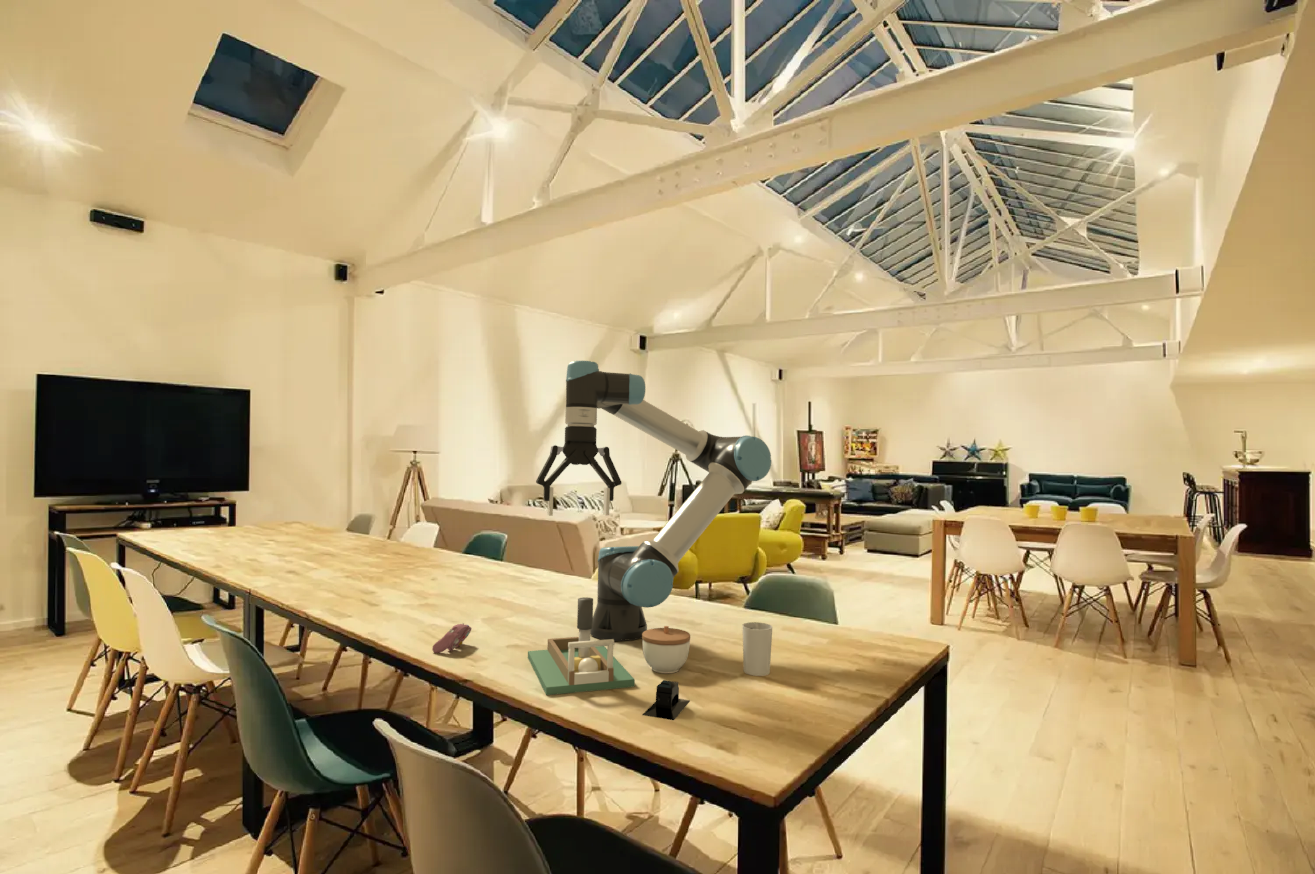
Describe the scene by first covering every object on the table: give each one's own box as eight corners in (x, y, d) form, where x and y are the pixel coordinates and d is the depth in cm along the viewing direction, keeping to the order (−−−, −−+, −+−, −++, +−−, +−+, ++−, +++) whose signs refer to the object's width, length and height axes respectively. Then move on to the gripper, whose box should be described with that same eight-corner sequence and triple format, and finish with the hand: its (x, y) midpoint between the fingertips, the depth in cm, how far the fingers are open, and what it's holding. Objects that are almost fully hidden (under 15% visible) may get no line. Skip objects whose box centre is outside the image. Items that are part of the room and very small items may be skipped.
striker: (596, 667, 139) (598, 596, 140) (600, 672, 136) (602, 599, 137) (567, 669, 137) (569, 598, 138) (570, 674, 134) (572, 601, 135)
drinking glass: (753, 678, 140) (753, 631, 140) (735, 668, 146) (736, 623, 146) (778, 674, 143) (778, 628, 144) (759, 665, 149) (760, 621, 149)
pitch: (603, 651, 157) (604, 611, 157) (634, 686, 133) (635, 638, 133) (527, 657, 151) (529, 615, 151) (546, 695, 127) (547, 645, 128)
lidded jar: (695, 665, 148) (696, 623, 149) (681, 679, 138) (682, 634, 138) (650, 659, 152) (651, 618, 152) (634, 673, 142) (635, 629, 142)
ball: (600, 673, 131) (596, 679, 134) (598, 653, 134) (594, 660, 137) (581, 675, 130) (577, 681, 133) (579, 655, 132) (575, 661, 135)
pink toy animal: (445, 661, 152) (458, 635, 151) (429, 651, 153) (442, 625, 152) (465, 649, 161) (477, 624, 161) (450, 639, 162) (462, 615, 162)
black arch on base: (660, 695, 130) (660, 671, 130) (697, 701, 127) (698, 676, 127) (635, 720, 117) (636, 692, 118) (676, 726, 115) (677, 698, 115)
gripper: (530, 423, 149) (527, 516, 148) (635, 427, 157) (633, 516, 156) (526, 424, 156) (523, 513, 155) (626, 428, 164) (624, 513, 163)
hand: (578, 515), depth 156 cm, fingers open, 13 cm apart
